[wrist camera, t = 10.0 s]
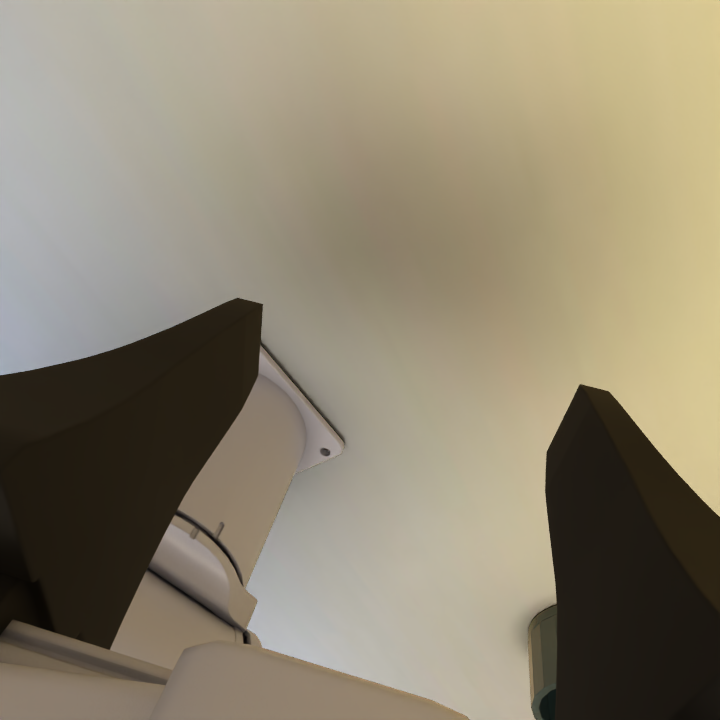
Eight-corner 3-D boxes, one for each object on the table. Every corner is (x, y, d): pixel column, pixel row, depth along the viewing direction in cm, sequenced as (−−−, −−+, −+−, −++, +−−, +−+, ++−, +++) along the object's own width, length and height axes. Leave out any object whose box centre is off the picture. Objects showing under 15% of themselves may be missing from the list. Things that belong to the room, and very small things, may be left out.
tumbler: (561, 679, 34) (568, 755, 31) (506, 615, 32) (507, 689, 29) (676, 661, 31) (698, 743, 28) (625, 588, 29) (642, 668, 26)
